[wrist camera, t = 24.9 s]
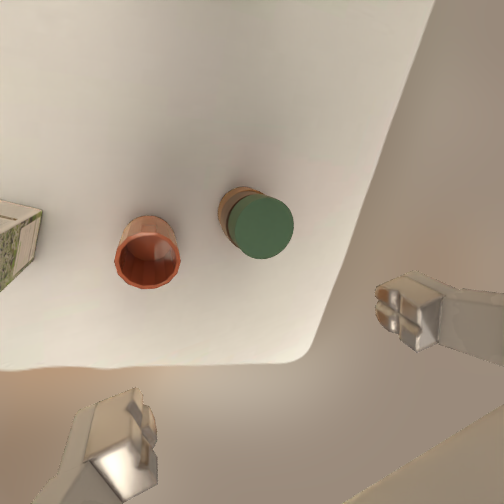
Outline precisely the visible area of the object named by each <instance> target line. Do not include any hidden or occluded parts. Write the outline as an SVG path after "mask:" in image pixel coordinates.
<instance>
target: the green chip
mask: <svg viewBox="0 0 504 504" xmlns="http://www.w3.org/2000/svg"><path fill="white" fill-rule="evenodd" d="M228 229H229V234H230V236H231V238H232V240H233V241H234V243H235V244H236V245H237V246H238V247H239V248H240V249H241V250H242V251H243V252H244V253H245V254H246V255H248V256H250V257H252V258H255V259H267V258H271V257H273V256H275V255H277V254H278V253H280V252H281V251H282V250H283V249H284V248H285V247H286V246H287V244H288V243H289V241H290V239H291V237H292V234H293V229H294V222H293V217H292V214H291V212H290V210H289V208H288V207H287V206H286V205H285V204H284V203H283V202H281V201H280V200H277V199H275V198H272V197H269V196H267V195H263V194H253V195H249V196H247V197H245V198H243V199H241V200H240V201H239V202H238V203H237V204H236V205H235V206H234V208H233V209H232V211H231V213H230V216H229V221H228Z"/></svg>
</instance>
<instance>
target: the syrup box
mask: <svg viewBox="0 0 504 504" xmlns="http://www.w3.org/2000/svg"><path fill="white" fill-rule="evenodd" d="M41 216H42V210H40V209H36V208H32V207H28V206H23V205H19V204H15V203H11V202H7V201H3V200H0V292H1V291H2V290H3V289H4V288H5V287H6V286H7V285H8V284H9V283H10V282H12V281H13V280H14V279H15V278H16V277H17V276H18V275H19V274H20V273H21V272H22V271H23V270H24V269H25V268H26V267H27V266H28V265H29V264H30V263H31V262H32V261H33V259H34V254H35V248H36V243H37V237H38V232H39V226H40V221H41Z"/></svg>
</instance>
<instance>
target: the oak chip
mask: <svg viewBox="0 0 504 504" xmlns="http://www.w3.org/2000/svg"><path fill="white" fill-rule="evenodd" d="M243 191H253V192H256V193H259V194H263V193H262V192H260V191H257V190H254V189H252V188H248V187H238V188H235V189H232V190H231V191H229V192H228V193H227V194H225V196H224V197H223V198H222V200H221V202H220V204H219V207H218V219H219V222H220V217H221V212H222V209H223V207H224V205H225V203H226V202H227V201H228V200H229V199H230V198H231V197H232V196H233V195H235V194H237V193H239V192H243ZM263 195H265V194H263ZM220 224H221V223H220Z"/></svg>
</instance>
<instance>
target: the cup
mask: <svg viewBox="0 0 504 504" xmlns="http://www.w3.org/2000/svg"><path fill="white" fill-rule="evenodd" d="M180 262H181V260H180V255H179V250H178V246H177V243H176V239H175V235H174V231H173V230H172V228H171V227H170V225H169V224H168V223H167V222H166V221H164V220H163V219H161V218H159V217H156V216H141V217H138V218H136V219H134V220H132V221H131V222H130V223H129V224H128V225H127V226H126V228H125V229H124V231H123V234H122V237H121V239H120V242H119V245H118V248H117V251H116V255H115V260H114V263H115V266H116V269H117V273H118V275H119V276H120V277H121V278H122V279H123V280H124V281H125V282H126V283H127V284H129V285H132V286H134V287H137V288H140V289H155V288H158V287H160V286H162V285H165V284H167V283H169V282H170V281H171V279H172V278H173V277H174V276H175V275H176V274H177V272H178V269H179V266H180Z"/></svg>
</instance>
